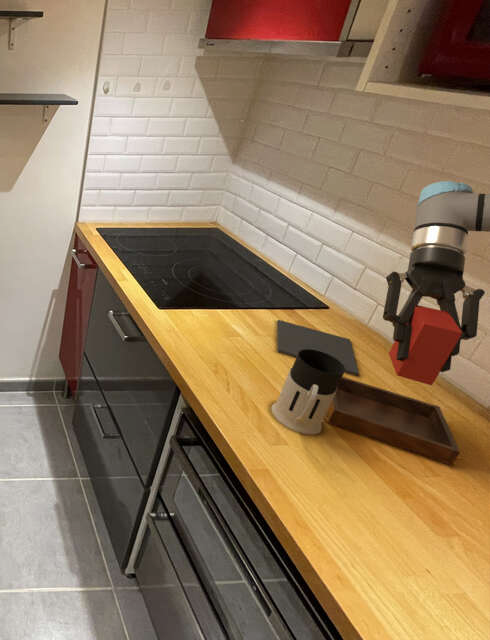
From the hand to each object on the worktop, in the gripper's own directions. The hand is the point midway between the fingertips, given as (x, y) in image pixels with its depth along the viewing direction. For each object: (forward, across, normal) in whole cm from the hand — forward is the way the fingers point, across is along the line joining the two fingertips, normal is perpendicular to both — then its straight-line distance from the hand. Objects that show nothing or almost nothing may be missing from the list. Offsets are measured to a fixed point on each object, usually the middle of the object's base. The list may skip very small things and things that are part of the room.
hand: (422, 364), depth 83 cm
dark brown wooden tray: (+10, 0, -15) cm, 18 cm away
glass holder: (+18, +15, -7) cm, 25 cm away
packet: (0, 0, -5) cm, 5 cm away
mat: (-6, +10, -31) cm, 33 cm away
